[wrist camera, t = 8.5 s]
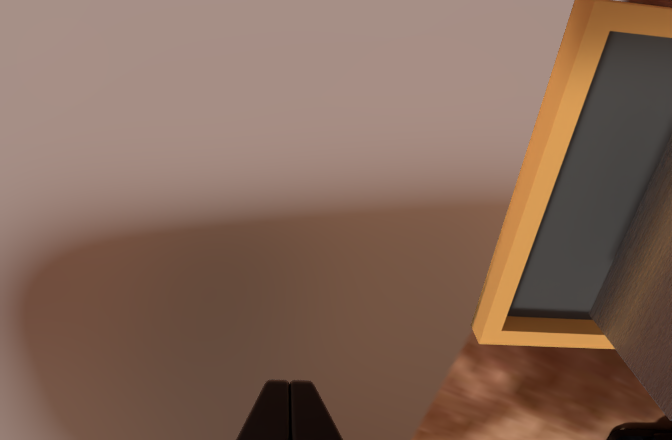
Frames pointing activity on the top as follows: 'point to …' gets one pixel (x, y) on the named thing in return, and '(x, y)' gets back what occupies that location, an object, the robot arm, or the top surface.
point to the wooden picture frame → (581, 176)
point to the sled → (644, 290)
